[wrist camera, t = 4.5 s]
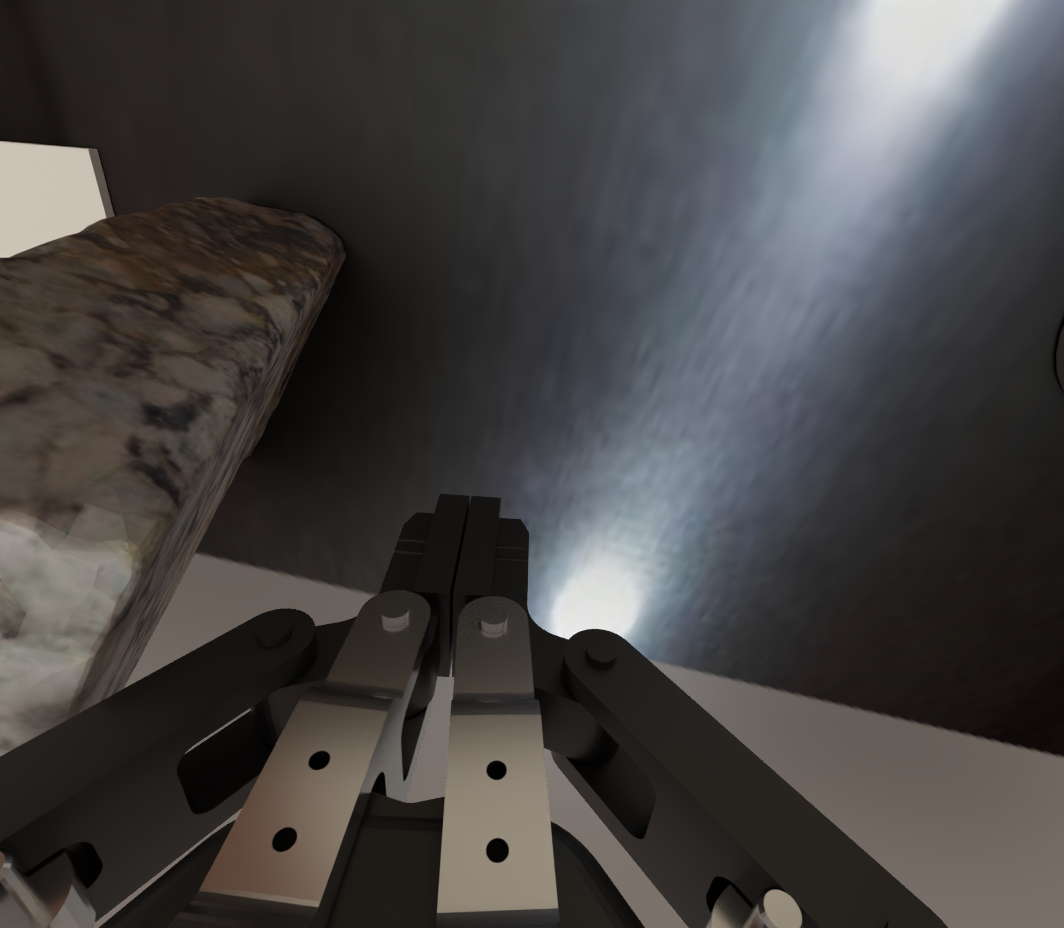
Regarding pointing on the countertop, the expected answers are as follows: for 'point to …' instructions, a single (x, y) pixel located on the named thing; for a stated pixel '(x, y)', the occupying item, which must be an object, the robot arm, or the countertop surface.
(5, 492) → the stone block
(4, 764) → the robot arm
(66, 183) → the mat
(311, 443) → the countertop surface
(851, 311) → the countertop surface
